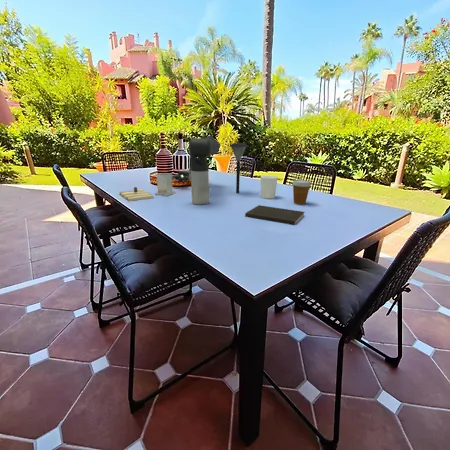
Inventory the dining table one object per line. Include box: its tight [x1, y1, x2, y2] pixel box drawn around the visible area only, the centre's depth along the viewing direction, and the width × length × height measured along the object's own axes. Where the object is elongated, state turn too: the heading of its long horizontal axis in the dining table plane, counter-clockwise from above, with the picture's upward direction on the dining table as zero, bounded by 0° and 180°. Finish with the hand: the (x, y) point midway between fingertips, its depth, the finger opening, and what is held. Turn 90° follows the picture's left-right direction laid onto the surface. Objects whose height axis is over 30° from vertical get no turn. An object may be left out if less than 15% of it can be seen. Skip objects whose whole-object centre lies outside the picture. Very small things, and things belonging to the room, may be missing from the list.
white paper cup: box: [260, 175, 278, 200], centre depth 159 cm, size 10×10×12 cm
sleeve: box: [154, 172, 176, 197], centre depth 165 cm, size 9×9×12 cm
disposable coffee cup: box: [292, 179, 312, 206], centre depth 146 cm, size 10×10×12 cm
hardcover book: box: [244, 204, 305, 226], centre depth 125 cm, size 16×23×2 cm
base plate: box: [119, 186, 155, 202], centre depth 159 cm, size 20×14×6 cm
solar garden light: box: [228, 142, 250, 194], centre depth 165 cm, size 12×12×30 cm
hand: (173, 179), depth 174 cm, fingers open, 8 cm apart
